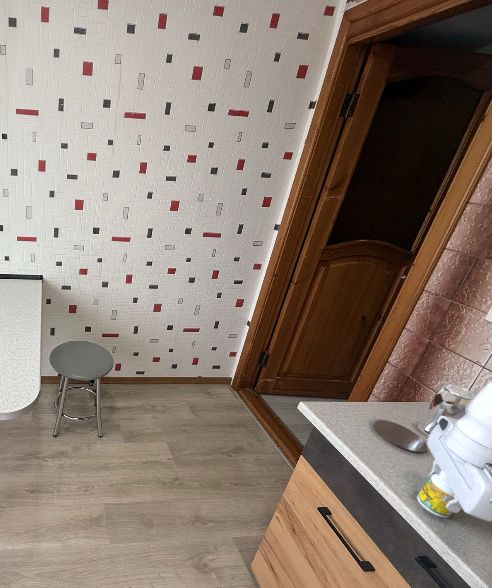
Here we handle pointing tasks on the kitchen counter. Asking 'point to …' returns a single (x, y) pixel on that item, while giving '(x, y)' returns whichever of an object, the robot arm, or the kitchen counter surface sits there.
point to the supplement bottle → (436, 495)
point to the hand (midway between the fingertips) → (441, 493)
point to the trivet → (400, 436)
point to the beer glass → (446, 406)
